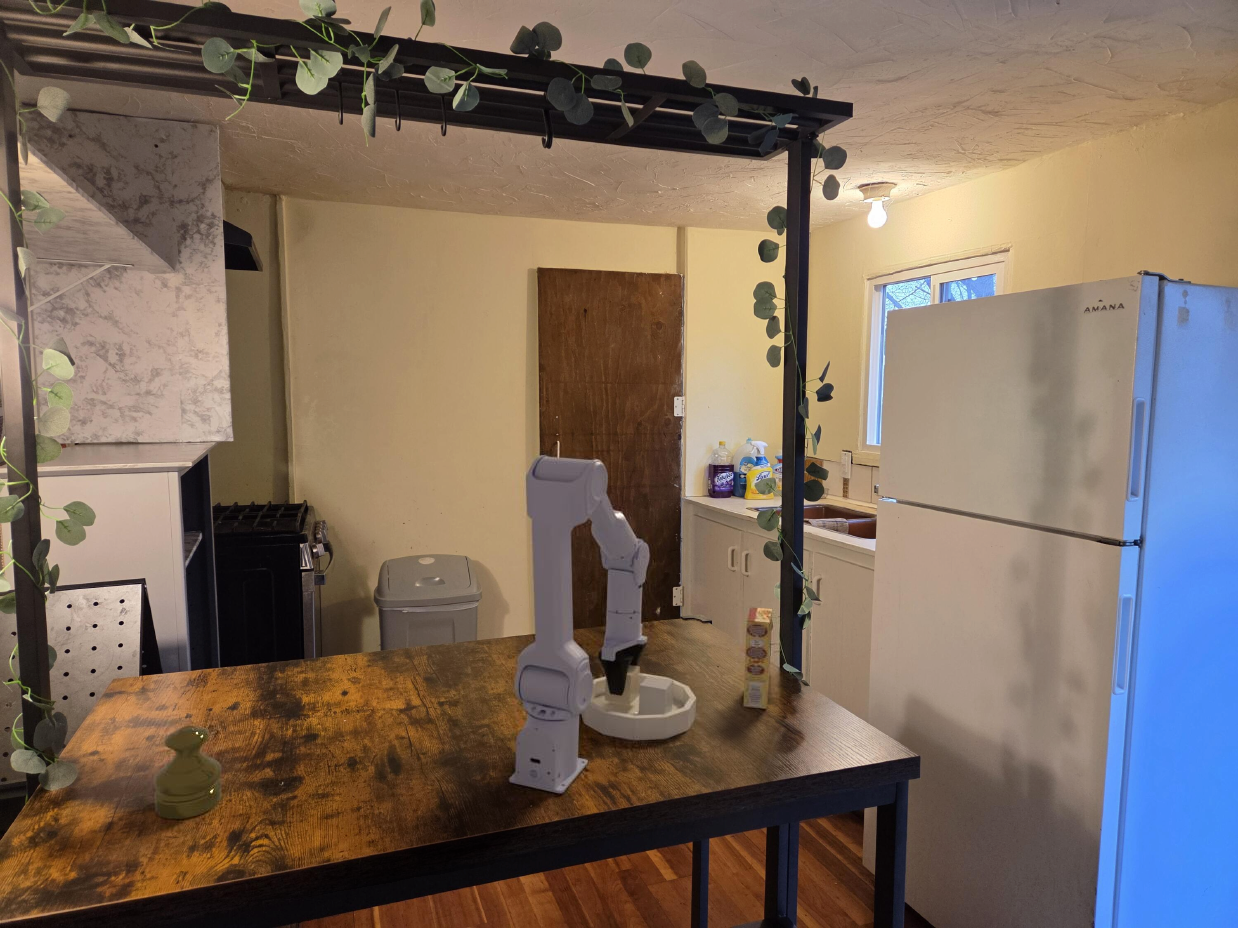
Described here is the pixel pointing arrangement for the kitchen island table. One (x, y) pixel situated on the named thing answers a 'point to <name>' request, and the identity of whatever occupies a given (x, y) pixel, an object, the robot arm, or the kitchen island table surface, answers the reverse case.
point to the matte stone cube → (655, 696)
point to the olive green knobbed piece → (187, 777)
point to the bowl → (639, 727)
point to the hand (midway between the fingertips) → (621, 688)
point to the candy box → (757, 657)
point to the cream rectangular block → (626, 688)
